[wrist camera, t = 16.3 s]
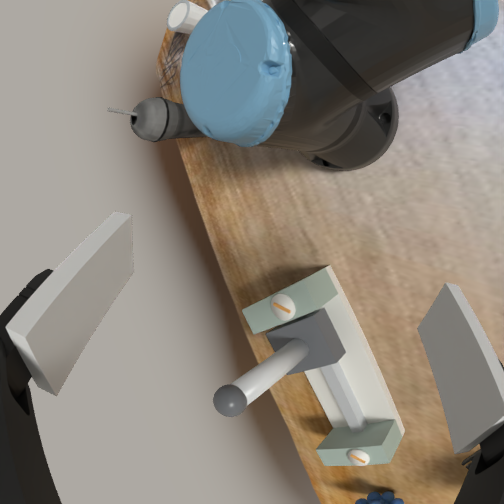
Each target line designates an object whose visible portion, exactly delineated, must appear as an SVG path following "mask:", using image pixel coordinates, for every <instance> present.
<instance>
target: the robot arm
mask: <svg viewBox="0 0 504 504" xmlns="http://www.w3.org/2000/svg"><path fill="white" fill-rule="evenodd" d="M498 14H499V6H498V0H263V1H260V0H231V1H223V2H221V3H219V4H217V5H215V6H214V7H213V8H211V9H210V10H209V11H208V12H207V13H206V14H205V15H204V16H203V17H202V18H201V19H200V20H199V22H198V23H197V25H196V26H195V28H194V29H193V31H192V33H191V35H190V37H189V39H188V41H187V44H186V47H185V50H184V53H183V57H182V66H181V72H180V88H181V95H182V100H183V103H184V106H185V109H186V112H187V114H188V116H189V117H190V119H191V121H192V122H193V124H194V125H195V126H196V127H197V128H198V129H199V130H200V131H201V132H202V133H204V134H205V135H207V136H208V137H211V138H212V139H215V140H218V141H223V142H229V143H234V144H236V145H238V146H241V147H250V146H251V147H253V146H261V147H272V148H281V149H289V150H298V151H299V152H300V153H301V154H302V155H303V156H305V157H306V158H307V159H308V160H310V161H311V162H313V163H315V164H317V165H319V166H321V167H324V168H328V169H333V170H356V169H360V168H363V167H365V166H368V165H370V164H371V163H373V162H375V161H376V160H377V159H379V158H380V157H381V156H382V155H383V154H384V153H385V152H386V151H387V149H388V148H389V146H390V145H391V143H392V141H393V139H394V137H395V134H396V131H397V127H398V118H399V113H398V105H397V101H396V98H395V95H394V93H393V91H392V89H391V87H390V86H392V85H394V84H396V83H398V82H400V81H402V80H404V79H406V78H408V77H410V76H412V75H414V74H416V73H418V72H420V71H422V70H424V69H426V68H428V67H430V66H432V65H434V64H436V63H438V62H440V61H442V60H444V59H446V58H448V57H451V56H453V55H455V54H459V53H462V52H463V51H466V50H467V49H469V48H470V47H471V45H472V44H474V43H476V42H478V41H480V40H481V39H483V38H485V37H487V36H488V35H489V34H490V33H491V32H492V31H493V30H494V28H495V26H496V24H497V21H498ZM133 272H134V268H133V243H132V215H131V214H126V213H121V212H116V211H115V212H114V213H113V214H112V215H111V216H109V217H108V218H107V219H106V220H105V221H104V222H103V223H102V224H101V225H100V226H99V227H97V228H96V229H95V230H94V231H93V232H92V233H91V234H90V235H89V236H88V237H87V238H86V239H85V240H84V241H83V242H82V243H81V244H80V245H79V246H78V247H77V248H76V249H75V250H74V251H73V252H72V253H71V254H70V255H69V256H68V257H67V258H66V259H65V260H64V261H63V262H62V263H61V264H60V265H59V266H58V267H57V268H56V269H55V270H54V271H53V270H50V269H47V270H45V271H43V272H41V273H40V274H38V275H36V276H35V277H34V278H33V279H32V280H31V281H30V282H29V283H28V284H27V286H26V288H24V289H23V290H22V291H21V292H20V293H19V296H17V297H16V298H15V299H14V300H13V301H12V302H11V303H10V305H9V306H8V307H7V308H6V309H5V310H4V311H3V313H2V314H1V315H0V504H62V503H61V501H60V498H59V496H58V493H57V490H56V488H55V485H54V482H53V479H52V476H51V473H50V470H49V467H48V464H47V461H46V458H45V454H44V451H43V447H42V443H41V439H40V435H39V431H38V427H37V423H36V418H35V413H34V409H33V404H32V398H31V392H30V388H29V386H28V382H29V380H30V378H31V377H32V378H33V379H34V381H35V383H36V384H37V386H38V387H39V388H41V389H43V390H45V391H47V392H49V393H51V394H53V395H55V396H57V395H58V393H59V391H60V389H61V387H62V386H63V384H64V382H65V380H66V379H67V377H68V375H69V373H70V372H71V370H72V368H73V366H74V364H75V363H76V361H77V360H78V358H79V356H80V354H81V353H82V351H83V350H84V348H85V346H86V345H87V343H88V341H89V340H90V338H91V336H92V335H93V333H94V332H95V330H96V328H97V327H98V325H99V324H100V322H101V320H102V319H103V317H104V316H105V314H106V313H107V311H108V310H109V308H110V306H111V305H112V303H113V302H114V300H115V299H116V297H117V296H118V294H119V293H120V291H121V290H122V289H123V287H124V286H125V284H126V283H127V281H128V280H129V278H130V277H131V275H132V274H133ZM417 329H418V332H419V334H420V337H421V340H422V342H423V345H424V348H425V351H426V354H427V357H428V360H429V363H430V366H431V369H432V372H433V375H434V378H435V381H436V384H437V388H438V391H439V394H440V398H441V401H442V405H443V408H444V412H445V416H446V420H447V424H448V428H449V432H450V436H451V440H452V444H453V449H454V454H458V453H463V452H468V451H470V450H471V449H473V448H474V447H475V446H477V445H478V444H479V443H480V447H481V449H480V450H478V451H477V452H475V453H474V454H473V455H471V456H470V457H468V458H467V459H465V460H464V461H463V462H462V465H465V464H466V463H468V462H469V461H472V462H471V463H470V464H468V465H467V466H466V468H467V469H469V471H468V473H467V476H466V478H465V480H464V483H463V485H462V487H461V489H460V492H459V494H458V496H457V498H456V500H455V502H454V504H504V367H503V365H502V363H501V362H500V360H499V359H498V358H497V356H496V354H495V352H494V350H493V347H492V345H491V343H490V342H489V340H488V338H487V336H486V334H485V332H484V330H483V328H482V326H481V324H480V323H479V321H478V319H477V317H476V315H475V314H474V312H473V310H472V308H471V307H470V305H469V303H468V301H467V300H466V298H465V296H464V295H463V293H462V291H461V290H460V288H459V286H458V285H455V284H450V283H446V282H445V284H444V286H443V288H442V289H441V291H440V293H439V295H438V296H437V298H436V300H435V301H434V303H433V305H432V306H431V308H430V309H429V311H428V313H427V314H426V316H425V317H424V319H423V320H422V322H421V323H420V325H419V326H418V328H417Z"/></svg>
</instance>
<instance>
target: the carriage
mask: <svg viewBox="0 0 504 504" xmlns="http://www.w3.org/2000/svg"><path fill="white" fill-rule="evenodd" d="M266 336H267V338H268V340H269V342H270V343H271V345H272V347H273V349H274V351H275V353H274V354H272V355H271V356H270V357H268V358H267V359H266V360H264V361H263V362H261V363H260V364H259V365H257V366H256V367H254V368H253V369H252V370H250V371H249V372H247V373H246V374H244V375H243V376H242V377H240V378H239V379H237V380H236V381H234V382H233V383H231V384H230V385H224V386H222V387H220V388H219V389H218V390H217V391H216V393H215V394H214V398H213V403H214V406H215V408H216V410H217V411H218V412H219V413H220V414H222V415H224V416H228V417H234V416H237V415H239V414H241V413H242V412H243V411H244V410H245V408H246V406H247V405H248V404H250V403H251V402H252V401H253V400H255V399H256V398H257V397H258V396H260V395H261V394H262V393H263V392H265V391H266V390H267V389H268V388H270V387H271V386H272V385H273V384H275V383H276V382H277V381H278V380H279V379H281V378H282V377H283V376H284V375H285V374H287V375H290V374H294V373H299V372H303V371H307V370H311V369H316V368H320V367H324V366H327V365H331V364H335V363H337V362H338V361H339V360H340V359H341V358H342V357H343V355H344V354H345V353H346V351H345V349H344V347H343V345H342V343H341V340H340V338H339V336H338V334H337V332H336V330H335V328H334V326H333V324H332V322H331V320H330V318H329V316H328V314H327V312H326V310H325V308H322V309H319V310H317V311H314V312H312V313H309V314H307V315H304V316H302V317H299V318H297V319H294V320H292V321H289V322H287V323H284V324H282V325H279V326H277V327H275V328H274V329H272V330H271V331H269V332H268V333H266Z"/></svg>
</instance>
